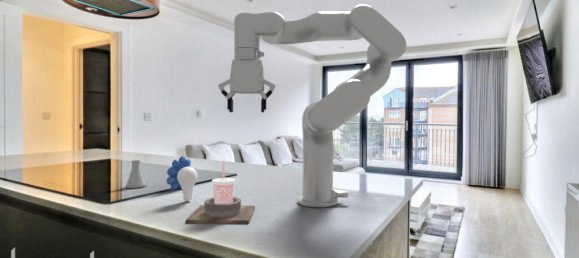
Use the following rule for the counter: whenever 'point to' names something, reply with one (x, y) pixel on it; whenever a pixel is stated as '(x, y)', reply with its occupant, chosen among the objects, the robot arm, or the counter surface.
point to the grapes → (176, 171)
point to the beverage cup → (223, 189)
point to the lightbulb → (187, 181)
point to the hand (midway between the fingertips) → (247, 112)
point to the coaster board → (221, 212)
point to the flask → (135, 176)
